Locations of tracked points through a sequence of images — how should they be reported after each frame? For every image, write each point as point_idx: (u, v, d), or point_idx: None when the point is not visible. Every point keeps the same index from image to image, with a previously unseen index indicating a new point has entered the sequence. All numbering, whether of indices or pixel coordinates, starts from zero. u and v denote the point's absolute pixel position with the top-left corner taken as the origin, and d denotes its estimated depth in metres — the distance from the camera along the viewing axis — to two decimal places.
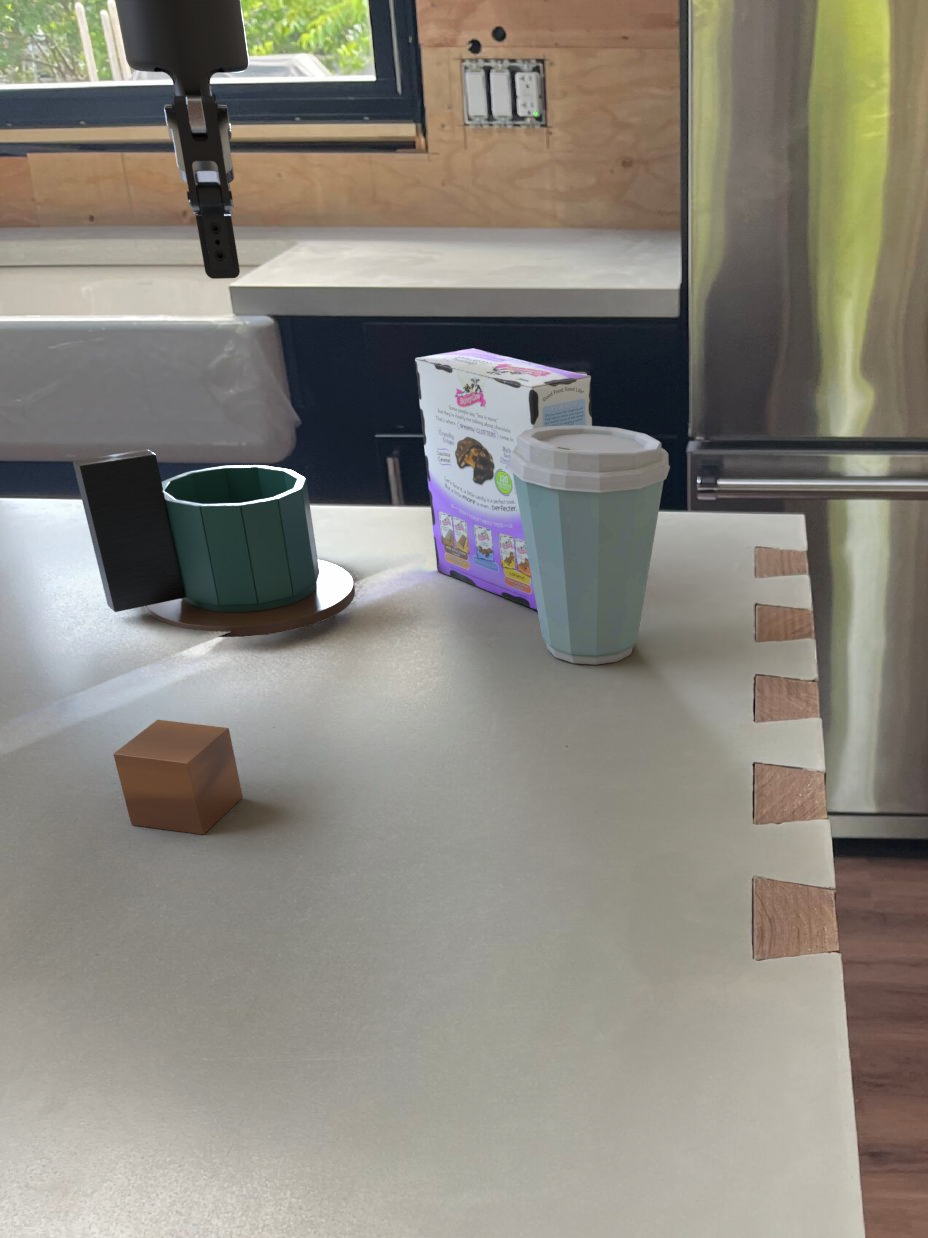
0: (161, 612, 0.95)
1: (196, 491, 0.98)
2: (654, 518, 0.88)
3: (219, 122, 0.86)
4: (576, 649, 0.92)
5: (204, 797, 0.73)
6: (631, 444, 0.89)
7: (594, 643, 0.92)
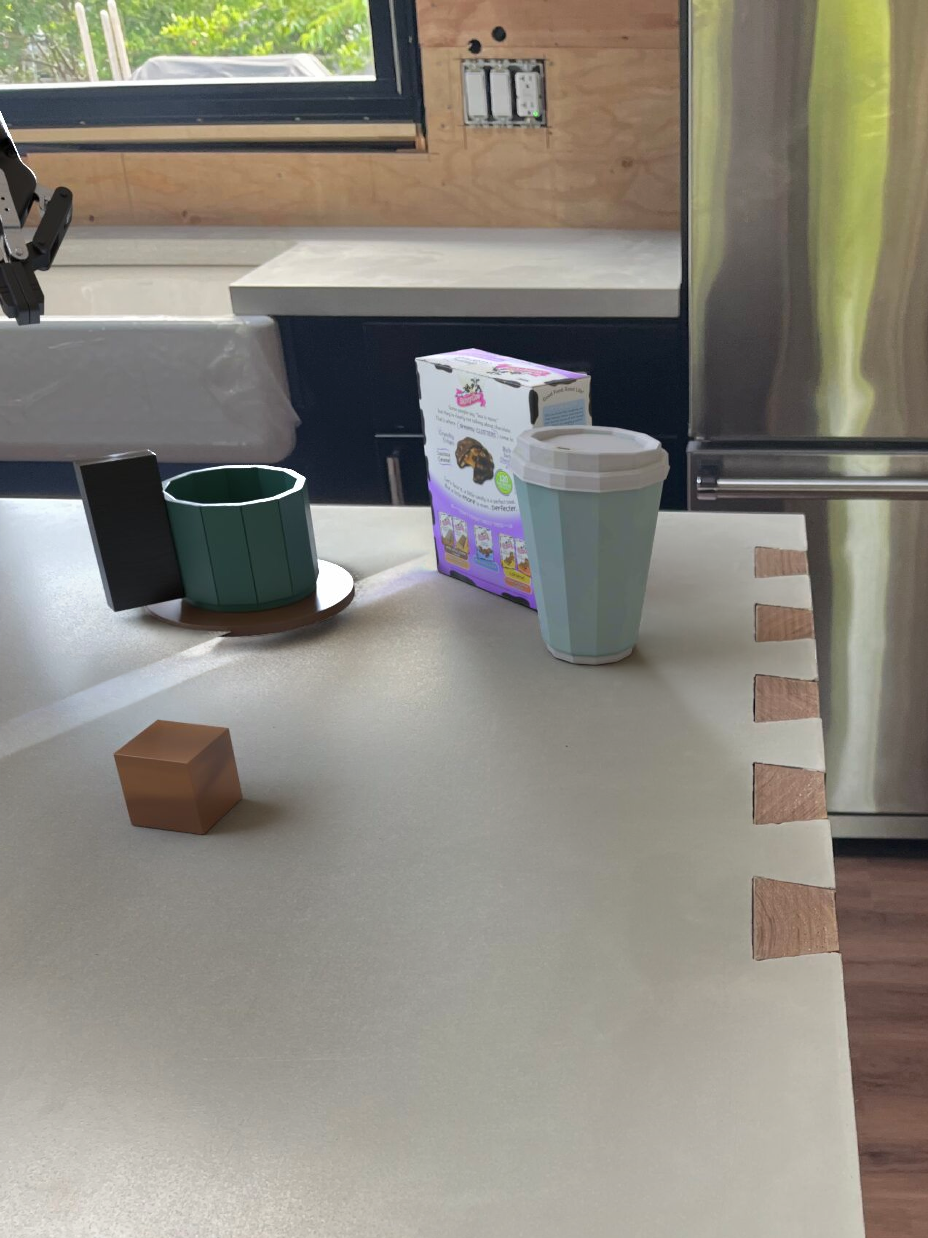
0: (161, 612, 0.95)
1: (196, 491, 0.98)
2: (654, 518, 0.88)
3: None
4: (576, 649, 0.92)
5: (204, 797, 0.73)
6: (631, 444, 0.89)
7: (594, 644, 0.92)
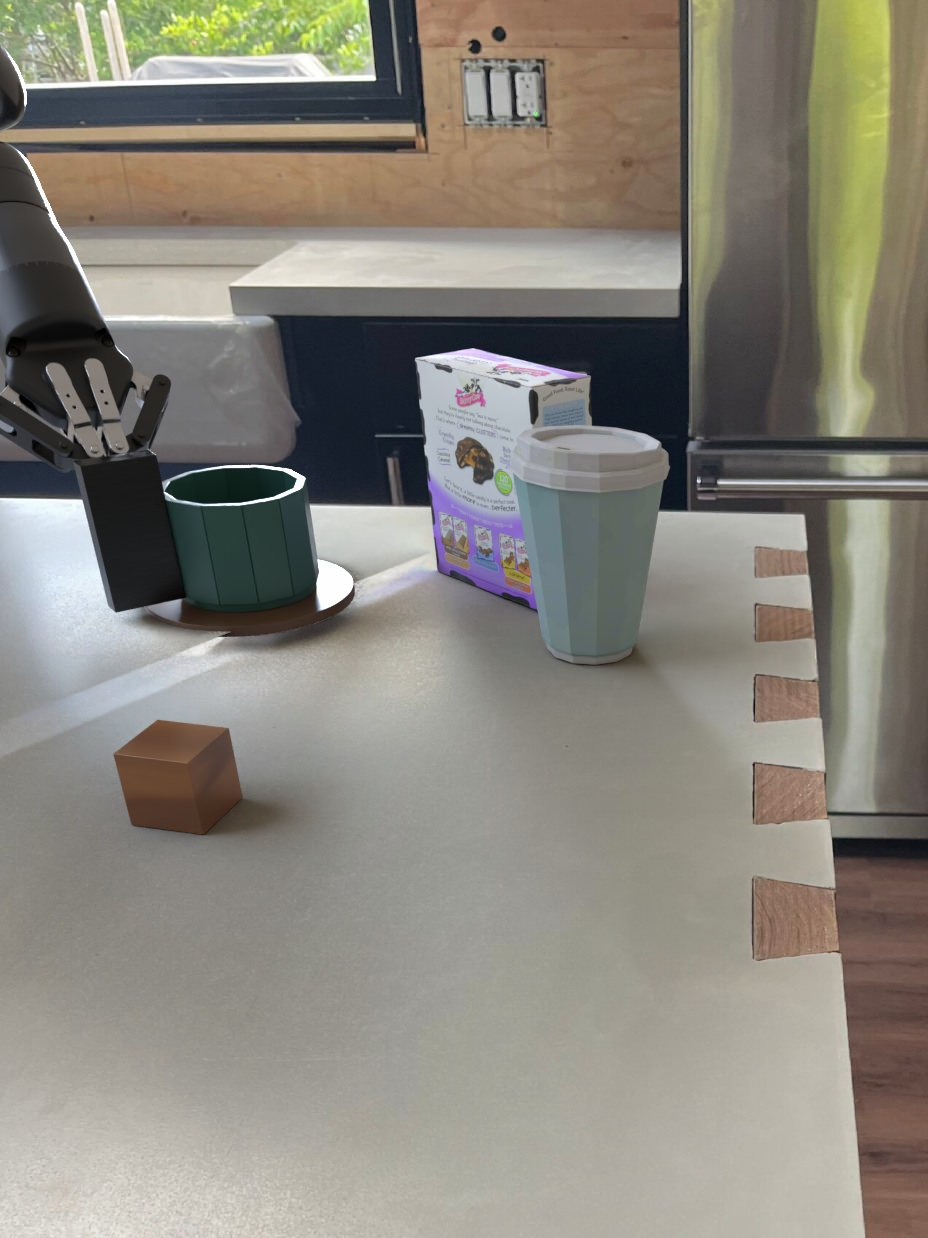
0: (162, 613, 0.95)
1: (195, 492, 0.98)
2: (654, 518, 0.88)
3: None
4: (576, 649, 0.92)
5: (204, 797, 0.73)
6: (631, 444, 0.89)
7: (594, 644, 0.92)
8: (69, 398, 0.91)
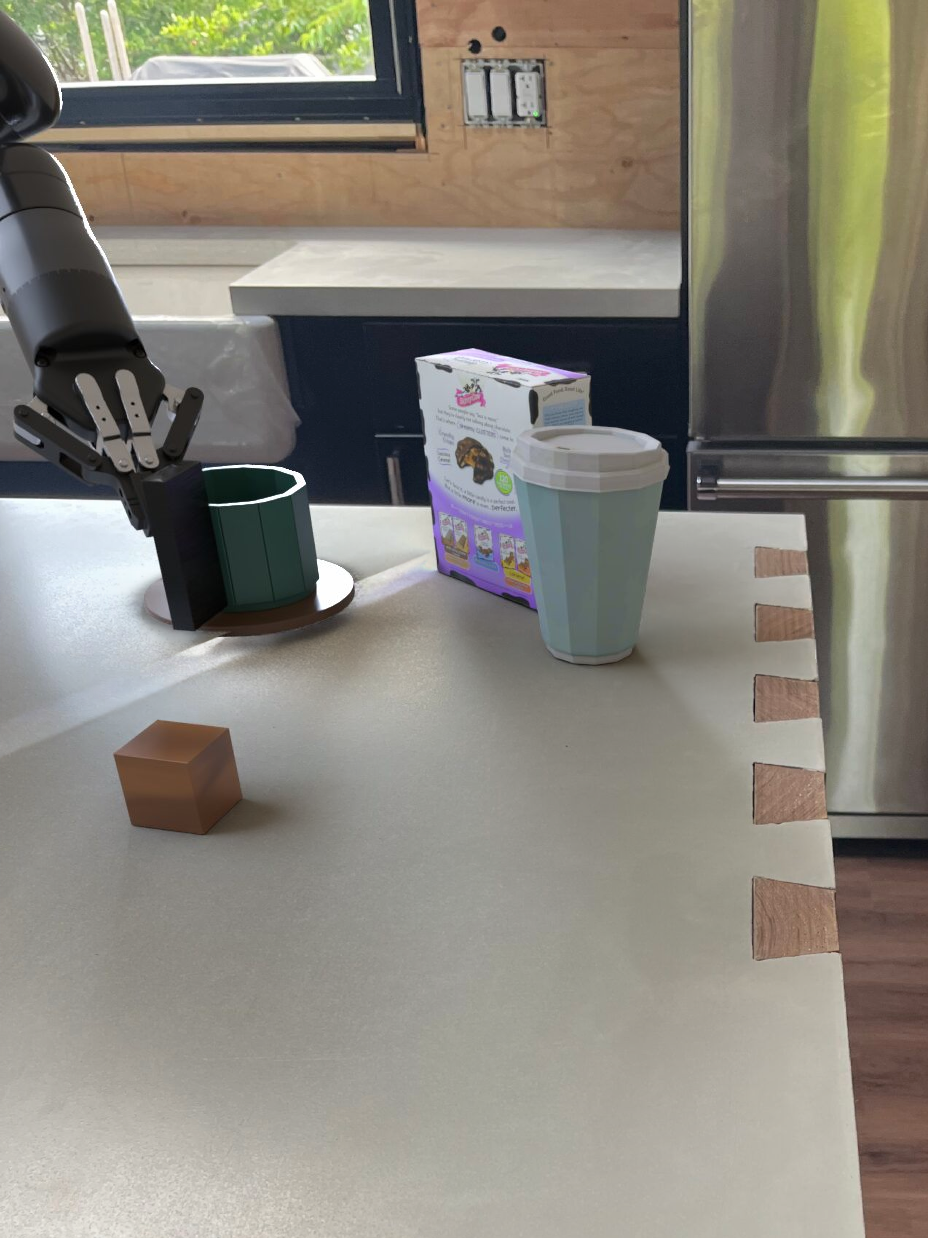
0: (221, 624, 0.93)
1: None
2: (654, 518, 0.88)
3: None
4: (576, 649, 0.92)
5: (204, 797, 0.73)
6: (631, 444, 0.89)
7: (594, 644, 0.92)
8: (99, 410, 0.88)
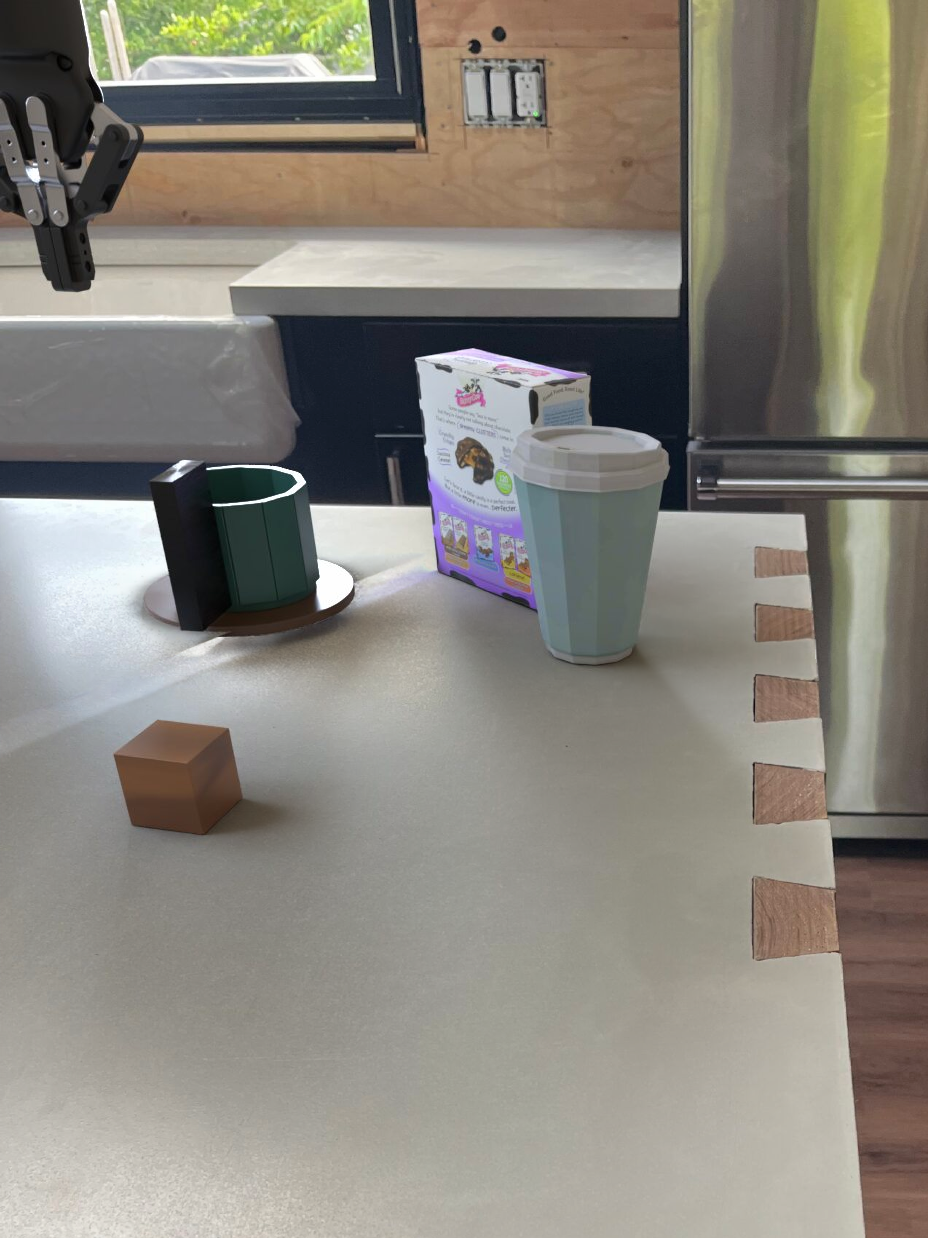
0: (226, 624, 0.93)
1: None
2: (654, 518, 0.88)
3: None
4: (576, 649, 0.92)
5: (204, 797, 0.73)
6: (631, 444, 0.89)
7: (594, 644, 0.92)
8: (9, 146, 0.81)
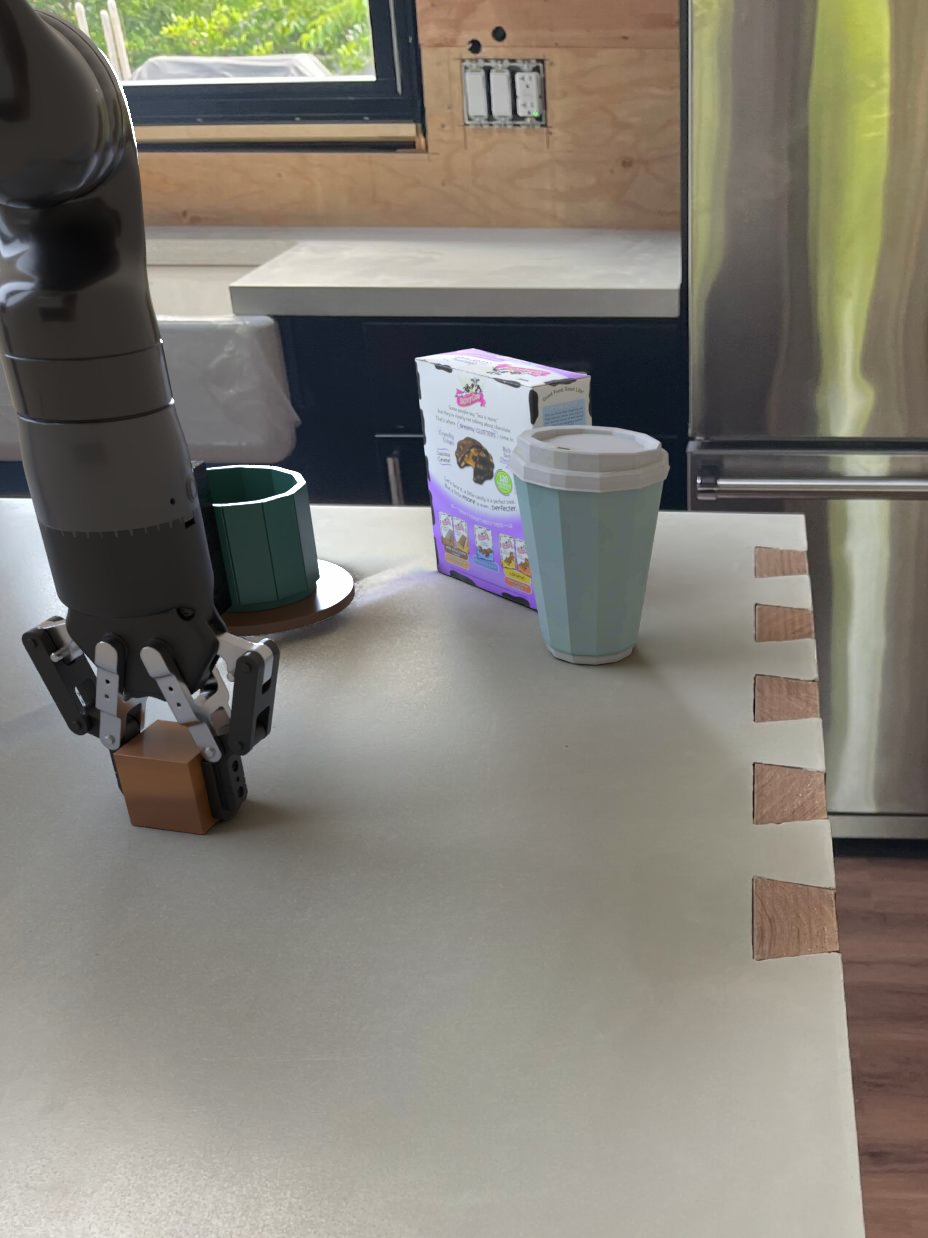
0: (226, 624, 0.93)
1: None
2: (654, 518, 0.88)
3: None
4: (576, 649, 0.92)
5: (204, 797, 0.73)
6: (631, 444, 0.89)
7: (594, 643, 0.92)
8: (107, 685, 0.69)
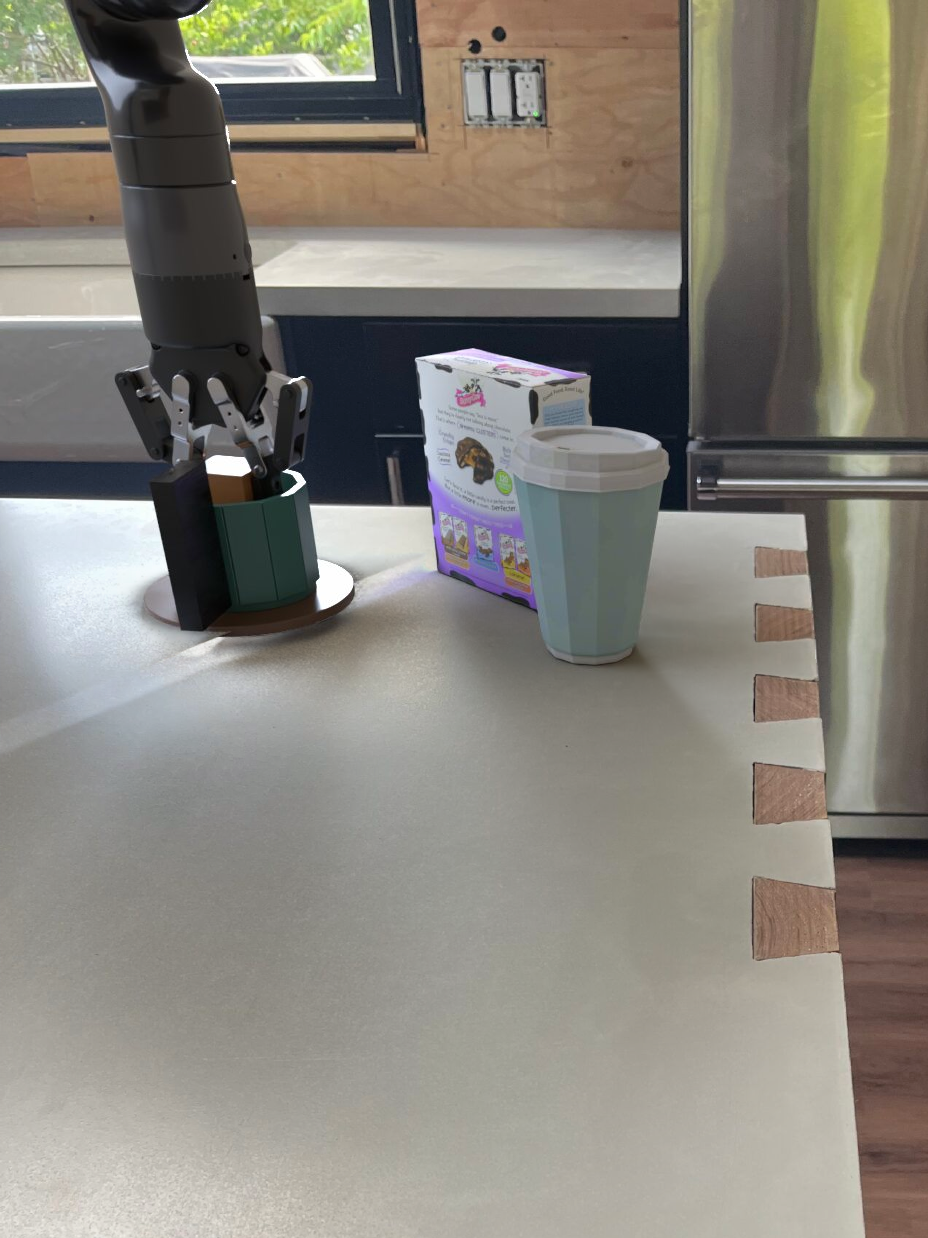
0: (226, 624, 0.93)
1: None
2: (654, 518, 0.88)
3: None
4: (576, 649, 0.92)
5: None
6: (631, 444, 0.89)
7: (594, 644, 0.92)
8: (180, 413, 0.91)
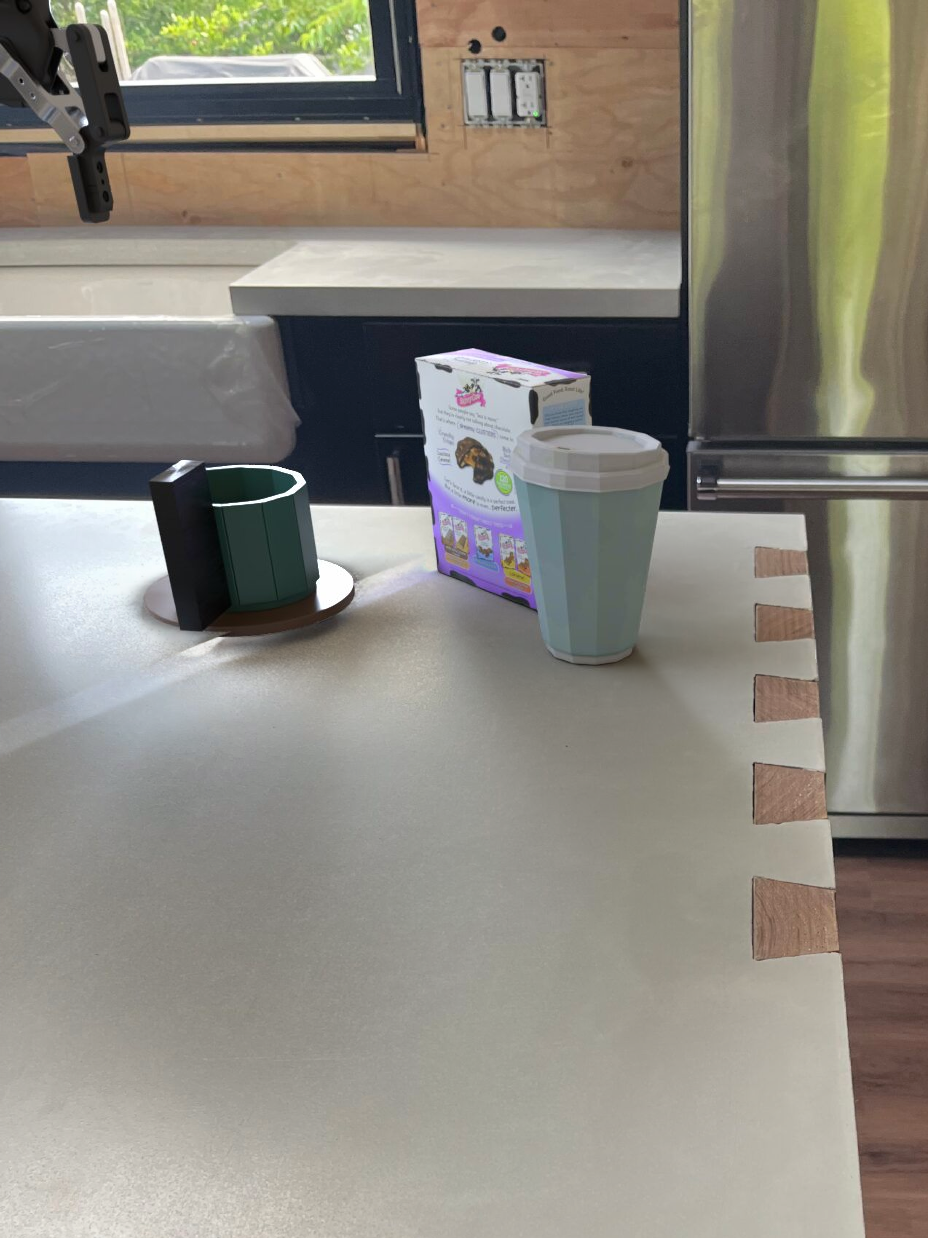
0: (226, 624, 0.93)
1: None
2: (654, 518, 0.88)
3: None
4: (576, 649, 0.92)
5: None
6: (631, 444, 0.89)
7: (594, 644, 0.92)
8: None
